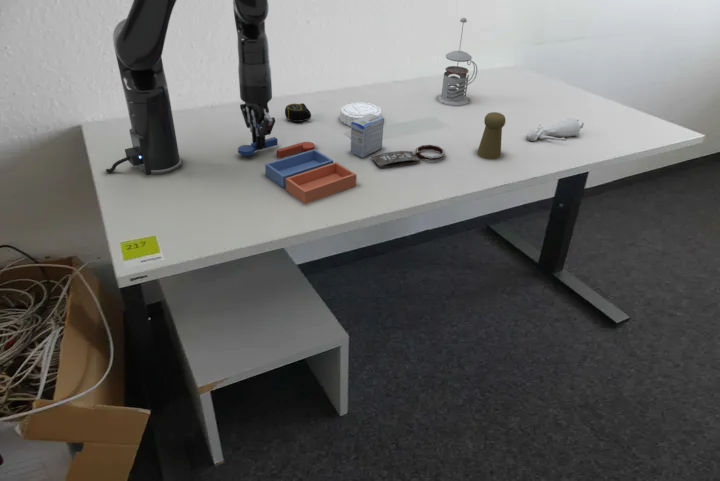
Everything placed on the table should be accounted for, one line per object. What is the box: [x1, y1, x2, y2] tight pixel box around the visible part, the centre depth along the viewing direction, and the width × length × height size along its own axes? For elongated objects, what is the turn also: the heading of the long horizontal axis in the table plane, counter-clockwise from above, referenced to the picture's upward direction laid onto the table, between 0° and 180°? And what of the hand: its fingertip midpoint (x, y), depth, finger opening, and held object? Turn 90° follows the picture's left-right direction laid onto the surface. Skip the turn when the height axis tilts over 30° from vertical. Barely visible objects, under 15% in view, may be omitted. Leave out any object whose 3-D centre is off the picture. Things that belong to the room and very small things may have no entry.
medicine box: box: [350, 114, 385, 159], centre depth 141 cm, size 8×4×9 cm, turn 141°
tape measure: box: [284, 103, 312, 122], centre depth 159 cm, size 7×7×4 cm
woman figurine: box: [525, 117, 585, 142], centre depth 154 cm, size 12×4×18 cm
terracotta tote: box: [285, 161, 357, 205], centre depth 126 cm, size 14×8×3 cm, turn 129°
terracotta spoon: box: [276, 141, 316, 159], centre depth 141 cm, size 11×4×2 cm, turn 129°
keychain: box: [371, 144, 446, 168], centre depth 140 cm, size 8×19×2 cm, turn 111°
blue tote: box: [264, 148, 334, 189], centre depth 131 cm, size 14×8×3 cm, turn 129°
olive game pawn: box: [476, 111, 506, 160], centre depth 141 cm, size 6×6×11 cm
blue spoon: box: [237, 136, 279, 156], centre depth 139 cm, size 11×4×2 cm, turn 129°
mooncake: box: [339, 102, 383, 127], centre depth 160 cm, size 12×12×4 cm
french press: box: [437, 17, 478, 106], centre depth 170 cm, size 10×12×25 cm
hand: (259, 147), depth 140 cm, fingers closed on blue spoon, 1 cm apart
